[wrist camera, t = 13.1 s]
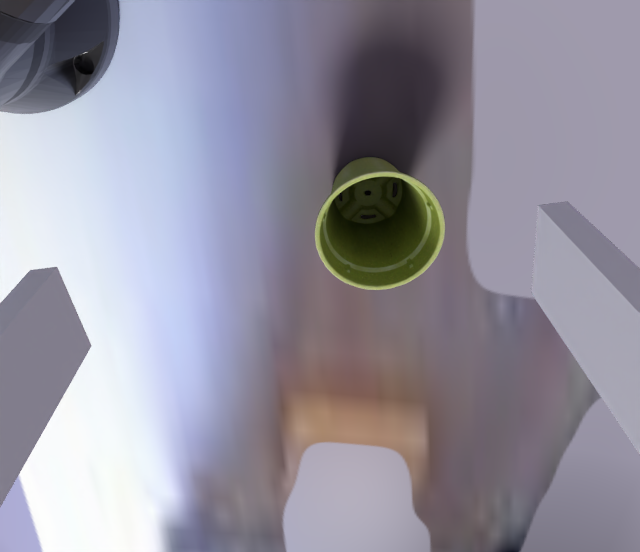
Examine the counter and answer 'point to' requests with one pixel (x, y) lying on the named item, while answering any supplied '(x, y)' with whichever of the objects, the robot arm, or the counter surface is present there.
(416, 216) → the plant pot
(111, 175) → the counter surface
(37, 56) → the robot arm
